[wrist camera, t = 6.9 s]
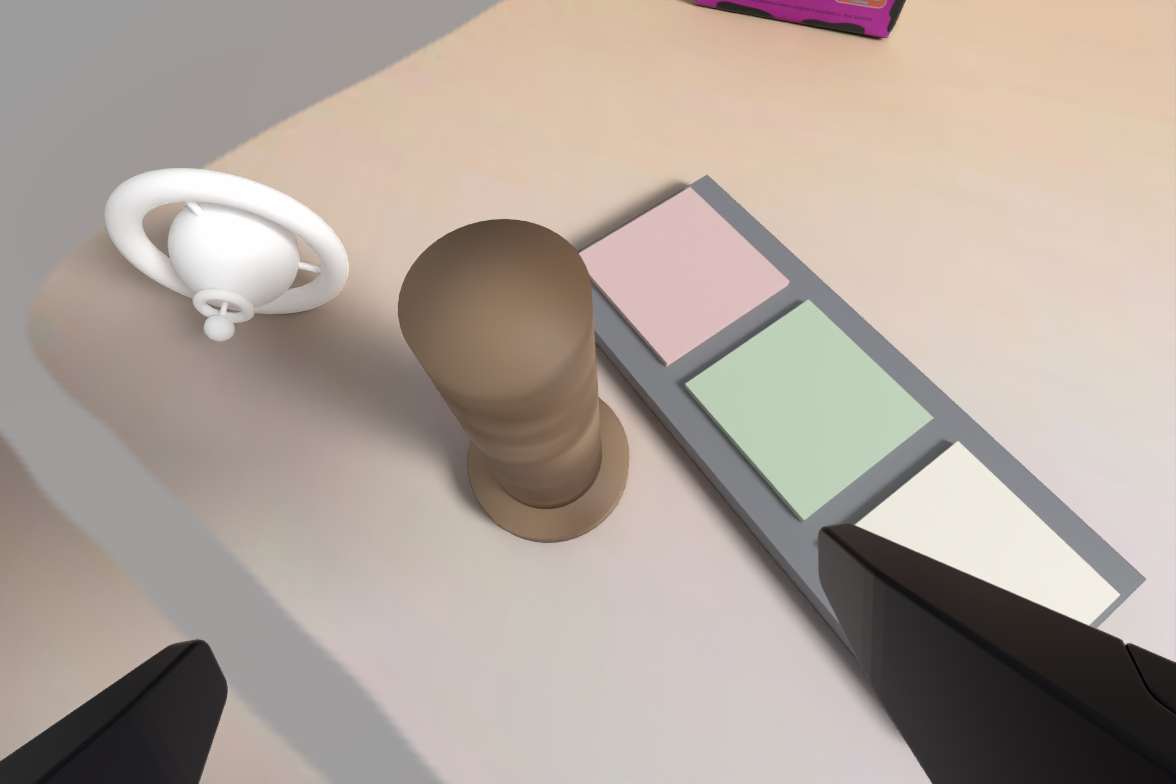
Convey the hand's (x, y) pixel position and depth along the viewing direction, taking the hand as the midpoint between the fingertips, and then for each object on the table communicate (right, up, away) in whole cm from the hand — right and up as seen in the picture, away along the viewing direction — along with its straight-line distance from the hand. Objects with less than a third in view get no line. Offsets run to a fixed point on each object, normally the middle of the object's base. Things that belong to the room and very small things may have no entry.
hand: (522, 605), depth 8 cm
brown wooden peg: (-1, 0, +14) cm, 14 cm away
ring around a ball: (-12, +6, +17) cm, 22 cm away
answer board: (+9, +2, +14) cm, 17 cm away
